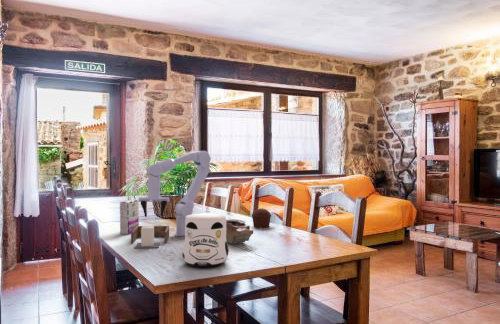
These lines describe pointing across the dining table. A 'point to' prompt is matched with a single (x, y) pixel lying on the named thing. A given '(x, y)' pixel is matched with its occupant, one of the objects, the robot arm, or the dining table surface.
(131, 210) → the candy bar box
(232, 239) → the grey-brown irregular lump
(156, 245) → the charcoal mat
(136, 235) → the walnut u-shaped frame
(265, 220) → the muffin
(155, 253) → the dining table surface
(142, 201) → the robot arm
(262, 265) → the dining table surface
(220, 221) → the dulce de leche canister
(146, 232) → the cream block
